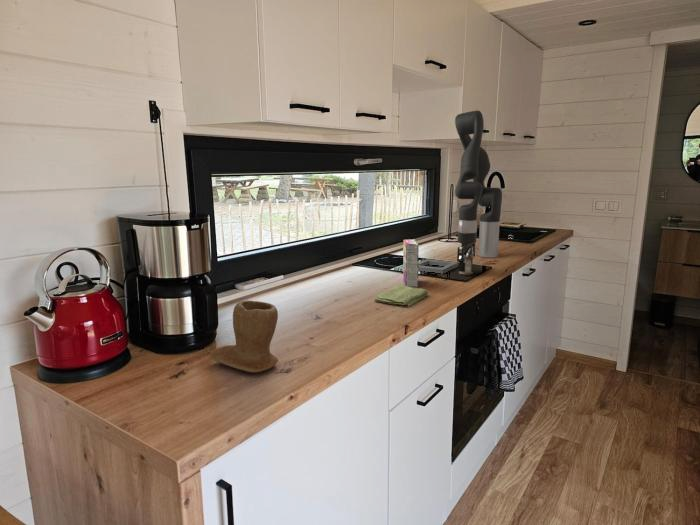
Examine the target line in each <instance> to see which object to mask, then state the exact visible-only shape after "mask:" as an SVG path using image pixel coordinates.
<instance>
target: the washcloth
mask: <svg viewBox="0 0 700 525" xmlns="http://www.w3.org/2000/svg"><path fill="white" fill-rule="evenodd" d="M428 294H429V292H428V290H427V289H424V288H418V287H408V286H406V285H402V284H397V285H395V286H394V287H391V288H390V289H387V290H386V291H383V292H382V293H379V294H378V295H376V297H375V298H374V302H378V303H384V304H388V305H397V304H398V305H399V306H402V305H403V307H407V306H408V308H410V307H411V306H413V305H414V303H415V304H417V303H418V302H419V301H421V300H423V299H424V298H426V297H427V296H428ZM425 296H426V297H425ZM422 298H423V299H422ZM398 305H397V306H398Z"/></svg>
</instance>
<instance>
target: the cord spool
mask: <svg viewBox="0 0 700 525" xmlns="http://www.w3.org/2000/svg"><path fill="white" fill-rule="evenodd" d="M459 258H460V257H459ZM472 259H473V260H474V258H473V257H472V256H468V258H467V259H466V261H465V272H460V271H458V274H459V275H461V274H463V275H462V276H471V274H472V275H473V272H474V271H472V268H471V260H472Z"/></svg>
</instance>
